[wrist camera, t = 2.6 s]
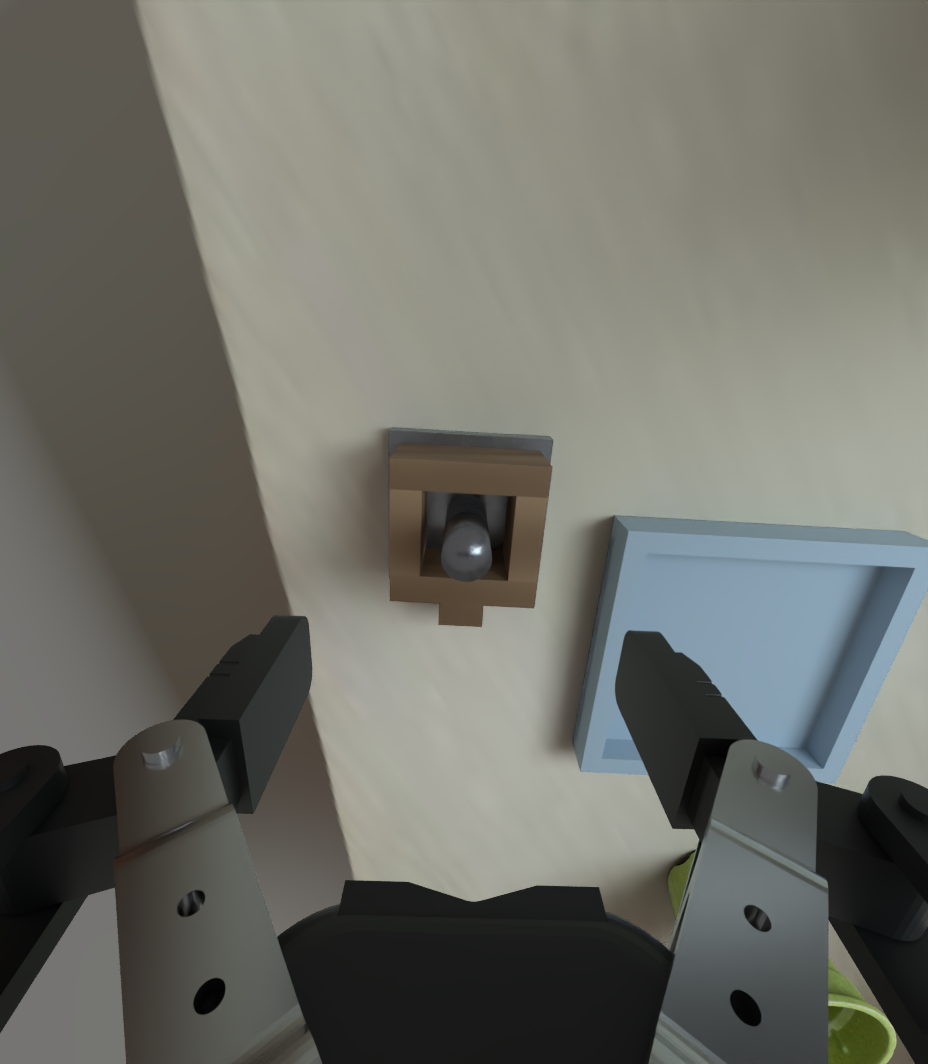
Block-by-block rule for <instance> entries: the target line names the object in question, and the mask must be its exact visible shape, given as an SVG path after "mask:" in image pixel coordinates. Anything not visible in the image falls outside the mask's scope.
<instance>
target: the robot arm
mask: <svg viewBox="0 0 928 1064" xmlns="http://www.w3.org/2000/svg"><path fill="white" fill-rule="evenodd" d="M311 680H312V659H311V647H310V634H309V623H308V619H307V617H305V616H284V615H275V616H273V617H272V618H271V620H270V621H269V622H268V624H267V625H266V627H265V628H264V629H263V631H262V632H261V633H260V635H248V636H247V637H245V638H244V639H242V640H241V641H239V642H238V643H236V644H235V645H233V646H232V647H231V648H230V649H229V650H228V652H227V653H226V654H225V655H224V656H223V658H222V659H221V660H220V663H219V664H217V665H216V667H215V668H214V669H213V670H212V672H211V673H210V676H209V677H207V678H206V679H205V680H204V682H203V683H202V684H201V685H200V687H199V688H198V689H197V690H196V692H195V693H194V694H193V696H192V697H191V698H190V699H189V700H188V702H187V703H186V704H185V705H184V707H183V708H182V709H181V710H180V712H179V713H178V714H177V716H176V717H175V718H174V719H173V720H171V721H167V722H163V723H160V724H156V725H154V726H151V727H149V728H147V729H145V730H143V731H141V732H140V733H138V734H137V735H135V736H134V737H132V738H131V739H130V740H128V741H127V743H125V745H123V746H122V748H121V749H120V750H119V752H118V753H117V755H116V756H111V757H107V758H102V759H97V760H92V761H87V762H82V763H77V764H72V765H67V766H63V763H62V760H61V757H60V754H59V752H58V751H57V750H56V749H54V748H52V747H50V746H44V745H34V746H27V747H21V748H17V749H14V750H10V751H7V752H5V753H2V754H0V1032H1V1031H2V1029H3V1028H4V1026H5V1024H6V1023H7V1021H8V1020H9V1019H10V1017H11V1015H12V1014H13V1012H14V1011H15V1009H16V1008H17V1006H18V1004H19V1003H20V1001H21V1000H22V998H23V996H24V995H25V993H26V992H27V990H28V989H29V987H30V986H31V984H32V982H33V981H34V979H35V978H36V976H37V975H38V973H39V971H40V970H41V968H42V967H43V965H44V963H45V962H46V960H47V959H48V957H49V956H50V954H51V953H52V951H53V949H54V948H55V946H56V945H57V943H58V942H59V940H60V938H61V937H62V935H63V934H64V932H65V930H66V929H67V927H68V926H69V924H70V923H71V921H72V920H73V918H74V916H75V915H76V913H77V912H78V910H79V909H80V907H81V905H82V904H83V902H84V901H85V899H86V898H87V896H88V895H90V894H94V893H97V892H100V891H104V890H107V889H110V888H115V897H116V911H117V928H118V943H119V958H120V975H121V989H122V1005H123V1020H124V1037H125V1052H126V1064H828V920H829V921H830V923H831V925H832V926H833V928H834V930H835V931H836V933H837V934H838V936H839V938H840V939H841V941H842V943H843V944H844V946H845V948H846V949H847V951H848V953H849V954H850V956H851V958H852V959H853V961H854V963H855V964H856V966H857V968H858V969H859V971H860V973H861V974H862V976H863V978H864V979H865V981H866V983H867V984H868V986H869V988H870V989H871V991H872V993H873V994H874V996H875V998H876V999H877V1001H878V1003H879V1004H880V1006H881V1008H882V1009H883V1011H884V1013H885V1014H886V1016H887V1018H888V1019H889V1021H890V1023H891V1024H892V1026H893V1028H894V1029H895V1031H896V1033H897V1034H898V1036H899V1038H900V1039H901V1041H902V1043H903V1044H904V1046H905V1047H906V1049H907V1051H908V1052H909V1054H910V1056H911V1057H912V1059H913V1061H914V1062H915V1064H928V789H927V788H925V787H923V786H921V785H918V784H916V783H914V782H911V781H908V780H905V779H902V778H898V777H893V776H876V777H874V778H872V779H871V780H870V781H869V783H868V785H867V787H866V789H865V791H864V793H863V794H860V793H857V792H853V791H850V790H846V789H842V788H839V787H835V786H832V785H828V784H824V783H821V782H818V781H815V779H814V777H813V775H812V774H811V773H810V771H809V770H808V769H807V768H806V767H805V766H804V765H803V764H802V763H801V762H800V761H799V760H797V759H796V758H795V757H793V756H792V755H790V754H789V753H787V752H786V751H784V750H782V749H780V748H778V747H776V746H774V745H771V744H768V743H765V742H762V741H758V740H757V739H756V737H755V736H754V735H753V734H752V732H751V731H750V730H749V728H748V727H747V726H746V725H745V723H744V722H743V721H742V719H741V718H740V717H739V715H738V714H737V713H736V712H735V710H734V709H733V708H732V706H731V705H730V704H729V703H728V701H727V700H726V699H725V697H722V694H721V692H720V691H719V690H718V688H717V687H716V686H715V684H712V681H711V679H710V678H709V677H708V675H707V674H706V673H705V672H704V670H703V669H702V668H701V666H700V665H698V664H697V663H695V662H694V661H693V660H691V659H690V658H689V657H687V656H686V655H684V654H683V653H682V652H675V651H674V650H673V649H672V647H671V646H670V644H669V643H668V642H667V640H666V639H665V638H664V636H663V635H662V634H661V633H660V632H658V631H634V630H629V631H627V632H626V634H625V636H624V640H623V645H622V650H621V655H620V660H619V665H618V670H617V675H616V680H615V697H616V702H617V705H618V708H619V710H620V712H621V715H622V717H623V719H624V721H625V724H626V726H627V728H628V730H629V733H630V735H631V737H632V739H633V741H634V744H635V746H636V748H637V750H638V753H639V755H640V757H641V759H642V762H643V764H644V766H645V768H646V770H647V773H648V775H649V777H650V779H651V782H652V784H653V786H654V788H655V791H656V793H657V795H658V797H659V799H660V802H661V804H662V806H663V808H664V811H665V813H666V815H667V817H668V819H669V822H670V824H671V826H672V828H673V829H695V831H696V834H697V836H698V838H699V842H698V845H697V848H696V851H695V855H694V858H693V862H692V865H691V869H690V872H689V876H688V880H687V883H686V887H685V890H684V894H683V897H682V901H681V904H680V908H679V911H678V915H677V918H676V922H675V926H674V929H673V932H672V936H671V939H670V942H669V946H668V949H667V948H666V947H665V946H664V945H663V944H662V943H661V942H659V941H658V940H656V939H655V938H654V937H652V936H651V935H650V934H648V933H647V932H646V931H644V930H642V929H641V928H639V927H637V926H636V925H634V924H632V923H631V922H629V921H627V920H624V919H622V918H620V917H618V916H616V915H613V914H610V913H607V912H605V909H604V906H603V902H602V898H601V894H600V890H599V887H570V886H534V887H530V888H526V889H523V890H519V891H515V892H512V893H508V894H504V895H501V896H497V897H493V898H490V899H486V900H482V901H477V902H470V901H466V900H463V899H460V898H456V897H453V896H450V895H447V894H444V893H441V892H438V891H435V890H432V889H428V888H425V887H422V886H419V885H416V884H413V883H410V882H390V881H354V880H352V881H351V880H346V881H345V885H344V890H343V894H342V898H341V903H340V904H338V905H335V906H331V907H328V908H326V909H323V910H321V911H318V912H316V913H314V914H312V915H310V916H308V917H306V918H304V919H302V920H301V921H299V922H297V923H296V924H294V925H293V926H291V927H290V928H289V929H287V930H286V931H284V932H283V933H281V934H280V935H279V936H278V937H277V936H276V933H275V930H274V927H273V924H272V921H271V918H270V915H269V912H268V908H267V905H266V903H265V899H264V896H263V893H262V890H261V888H260V884H259V881H258V878H257V875H256V872H255V869H254V866H253V863H252V860H251V857H250V854H249V851H248V848H247V845H246V842H245V839H244V835H243V833H242V830H241V826H240V823H239V820H238V817H237V814H236V813H245V814H253V813H254V812H255V809H256V807H257V805H258V803H259V801H260V798H261V796H262V794H263V792H264V789H265V788H266V785H267V783H268V781H269V779H270V776H271V774H272V772H273V770H274V768H275V765H276V763H277V761H278V759H279V757H280V754H281V752H282V750H283V748H284V745H285V744H286V741H287V739H288V737H289V735H290V733H291V730H292V728H293V726H294V724H295V722H296V719H297V717H298V715H299V713H300V711H301V709H302V706H303V704H304V702H305V700H306V698H307V695H308V693H309V690H310V686H311Z"/></svg>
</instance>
